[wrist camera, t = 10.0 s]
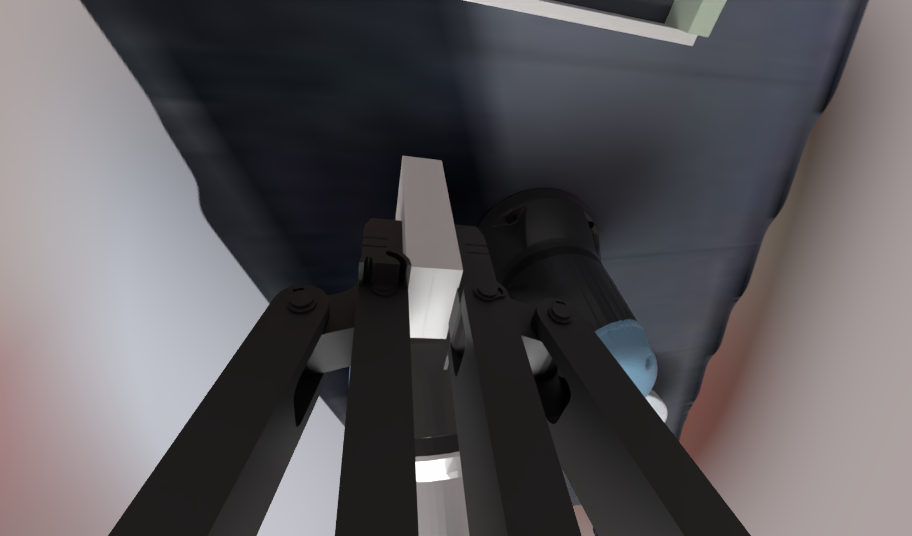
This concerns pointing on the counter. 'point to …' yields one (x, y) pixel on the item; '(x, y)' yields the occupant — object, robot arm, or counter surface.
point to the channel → (685, 21)
